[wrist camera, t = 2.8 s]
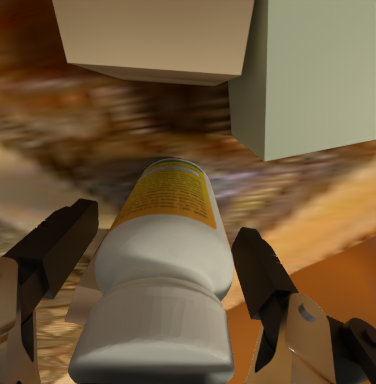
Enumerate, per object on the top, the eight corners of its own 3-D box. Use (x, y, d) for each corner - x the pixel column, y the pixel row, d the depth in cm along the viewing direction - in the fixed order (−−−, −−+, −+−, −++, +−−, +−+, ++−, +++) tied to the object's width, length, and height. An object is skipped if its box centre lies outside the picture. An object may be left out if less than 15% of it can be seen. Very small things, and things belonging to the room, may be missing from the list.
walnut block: (109, 227, 14) (77, 285, 10) (162, 246, 15) (154, 304, 11) (96, 261, 16) (64, 321, 12) (143, 275, 18) (130, 334, 13)
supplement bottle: (223, 198, 13) (295, 384, 4) (167, 228, 14) (144, 413, 6) (184, 139, 11) (184, 294, 2) (122, 181, 12) (-21, 375, 4)
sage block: (223, 32, 8) (269, -43, 4) (330, 4, 8) (518, -118, 3) (231, 135, 11) (264, 161, 6) (312, 118, 10) (408, 132, 6)
